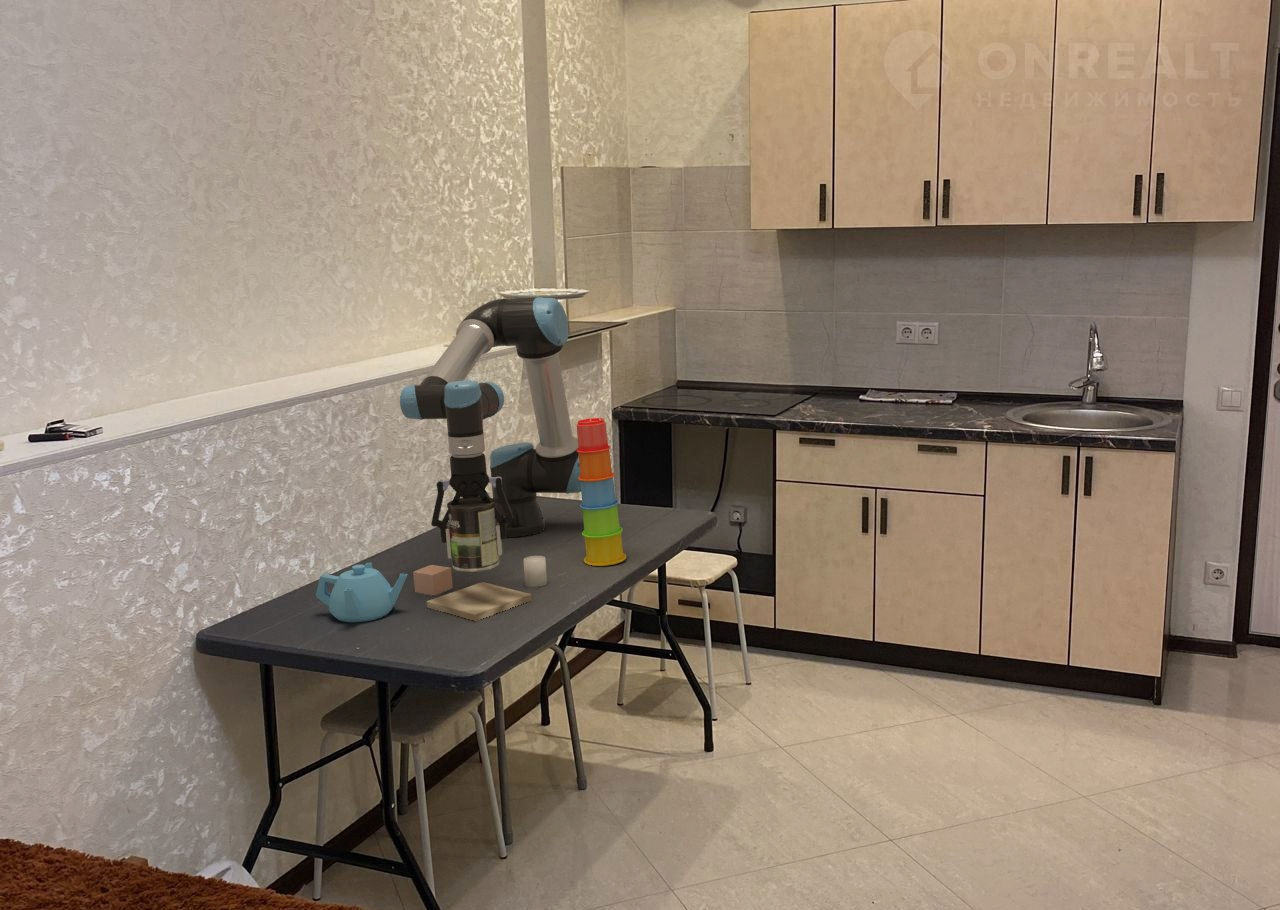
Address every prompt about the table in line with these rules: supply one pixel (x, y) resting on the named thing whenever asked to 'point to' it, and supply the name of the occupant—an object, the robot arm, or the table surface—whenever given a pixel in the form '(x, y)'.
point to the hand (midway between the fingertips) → (475, 555)
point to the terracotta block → (432, 579)
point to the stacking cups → (598, 495)
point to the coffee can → (473, 535)
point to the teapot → (359, 594)
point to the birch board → (479, 601)
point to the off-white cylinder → (535, 571)
